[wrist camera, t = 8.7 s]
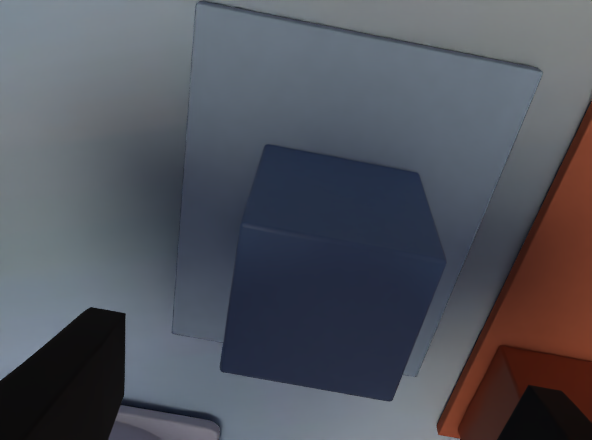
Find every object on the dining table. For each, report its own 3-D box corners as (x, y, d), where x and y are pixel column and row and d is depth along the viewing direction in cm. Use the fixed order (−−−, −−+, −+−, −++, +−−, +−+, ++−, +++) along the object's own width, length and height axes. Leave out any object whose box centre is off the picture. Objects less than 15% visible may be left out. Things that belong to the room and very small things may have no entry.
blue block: (379, 293, 15) (392, 404, 12) (244, 269, 15) (218, 373, 12) (420, 171, 13) (449, 262, 10) (264, 142, 13) (240, 222, 10)
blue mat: (414, 368, 17) (416, 377, 17) (174, 325, 17) (171, 334, 17) (538, 67, 12) (544, 72, 12) (199, 0, 12) (195, 2, 12)
